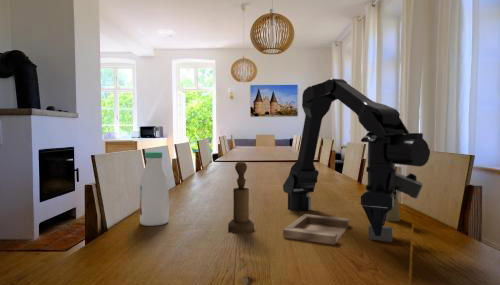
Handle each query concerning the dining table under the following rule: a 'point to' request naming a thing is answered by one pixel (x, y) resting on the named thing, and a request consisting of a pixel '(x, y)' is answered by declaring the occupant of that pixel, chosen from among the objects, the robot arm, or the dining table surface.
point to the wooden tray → (317, 229)
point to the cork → (394, 211)
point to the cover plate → (385, 234)
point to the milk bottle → (153, 191)
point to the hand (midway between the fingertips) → (380, 230)
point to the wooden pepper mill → (241, 204)
